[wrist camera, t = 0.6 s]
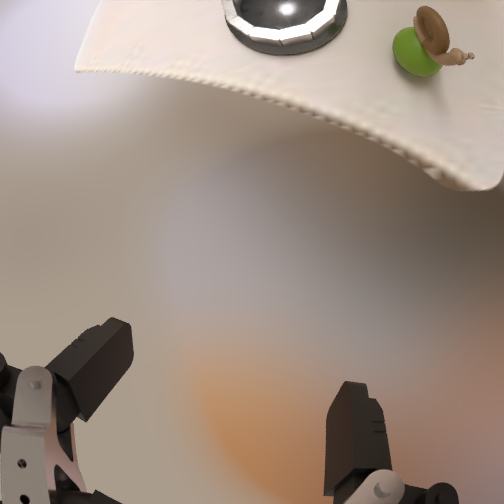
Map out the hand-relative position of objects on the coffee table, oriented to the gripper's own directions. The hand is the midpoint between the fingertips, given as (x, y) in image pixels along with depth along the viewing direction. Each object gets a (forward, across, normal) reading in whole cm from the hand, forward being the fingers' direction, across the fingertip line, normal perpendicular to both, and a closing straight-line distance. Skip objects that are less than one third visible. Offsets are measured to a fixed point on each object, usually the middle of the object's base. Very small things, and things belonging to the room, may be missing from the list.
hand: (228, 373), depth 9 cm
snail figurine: (+22, -11, -21) cm, 32 cm away
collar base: (+23, +4, -26) cm, 35 cm away
